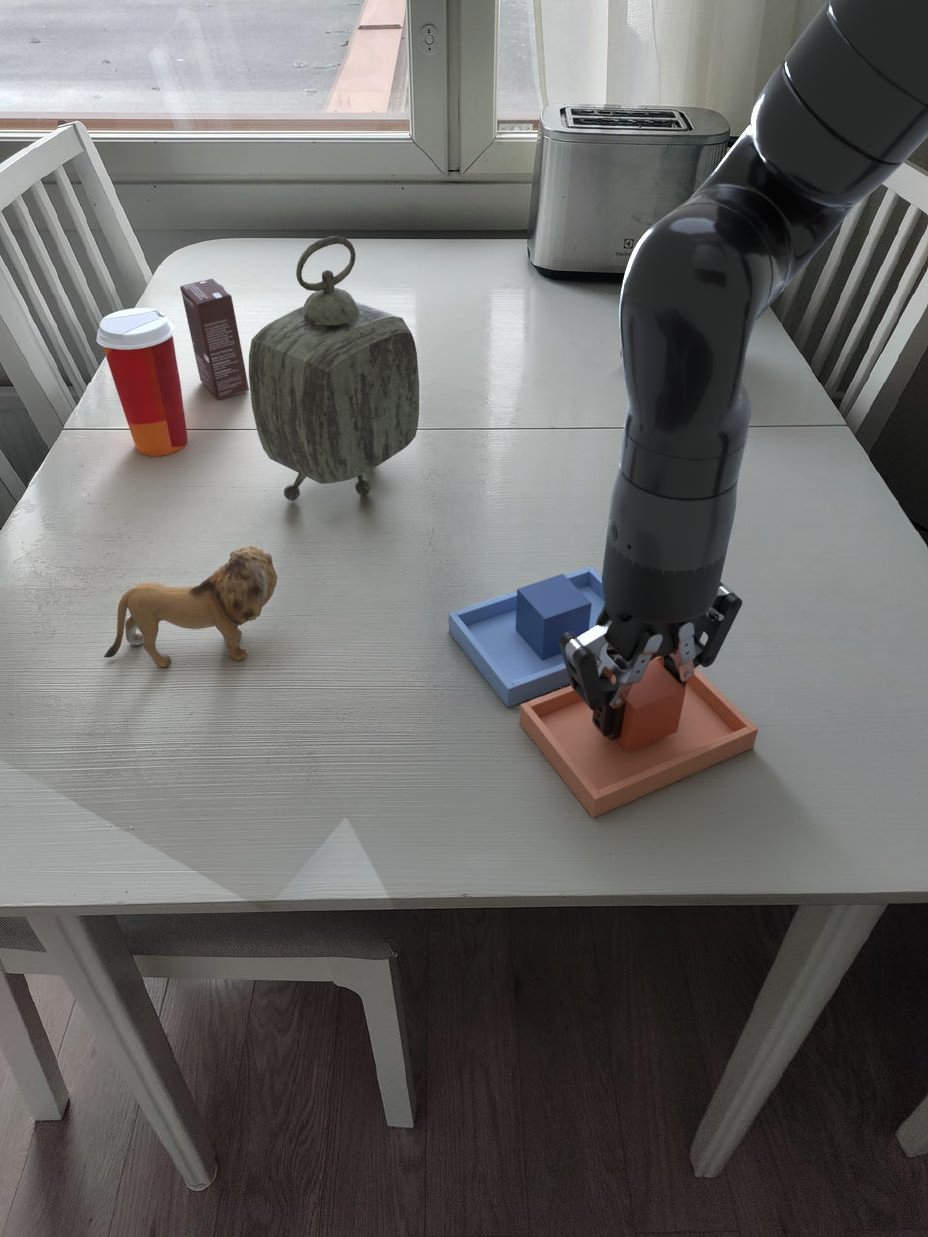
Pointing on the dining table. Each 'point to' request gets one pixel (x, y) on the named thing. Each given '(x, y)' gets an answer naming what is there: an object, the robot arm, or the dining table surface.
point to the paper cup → (146, 377)
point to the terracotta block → (651, 707)
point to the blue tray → (516, 643)
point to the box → (215, 338)
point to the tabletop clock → (333, 384)
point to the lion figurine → (200, 604)
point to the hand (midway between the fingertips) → (636, 719)
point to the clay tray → (620, 776)
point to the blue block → (551, 614)
